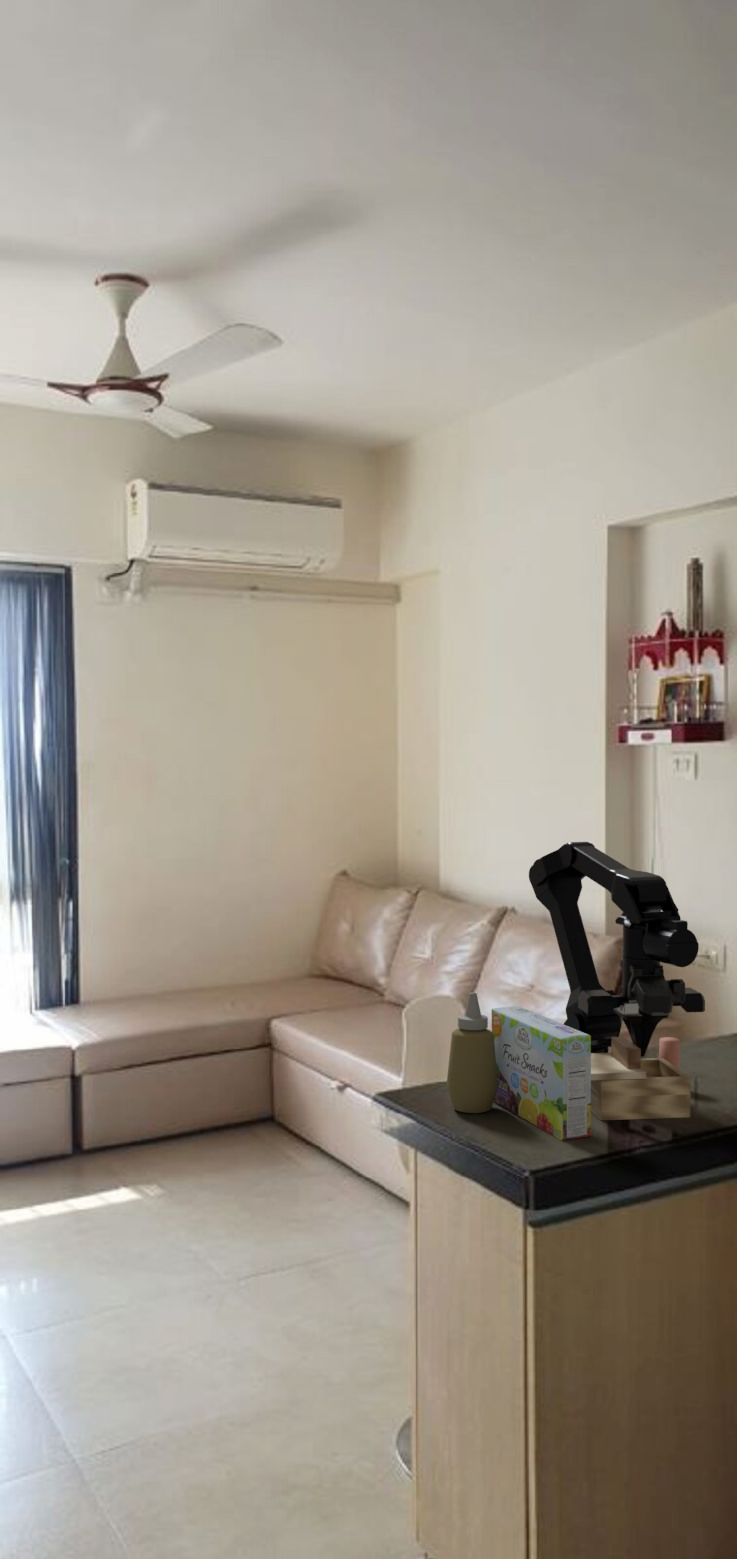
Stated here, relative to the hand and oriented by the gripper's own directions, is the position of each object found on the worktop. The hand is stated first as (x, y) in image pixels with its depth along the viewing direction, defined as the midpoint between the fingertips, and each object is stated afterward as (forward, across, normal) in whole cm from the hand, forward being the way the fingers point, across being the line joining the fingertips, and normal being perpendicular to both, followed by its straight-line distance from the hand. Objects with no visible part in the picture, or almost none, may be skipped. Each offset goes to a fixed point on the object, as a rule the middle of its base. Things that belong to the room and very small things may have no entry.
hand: (640, 1056), depth 196 cm
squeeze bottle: (+8, -26, +2) cm, 28 cm away
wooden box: (+8, -1, 0) cm, 8 cm away
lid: (+2, -6, 0) cm, 6 cm away
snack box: (+8, -17, -4) cm, 20 cm away
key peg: (+8, +8, +10) cm, 15 cm away
